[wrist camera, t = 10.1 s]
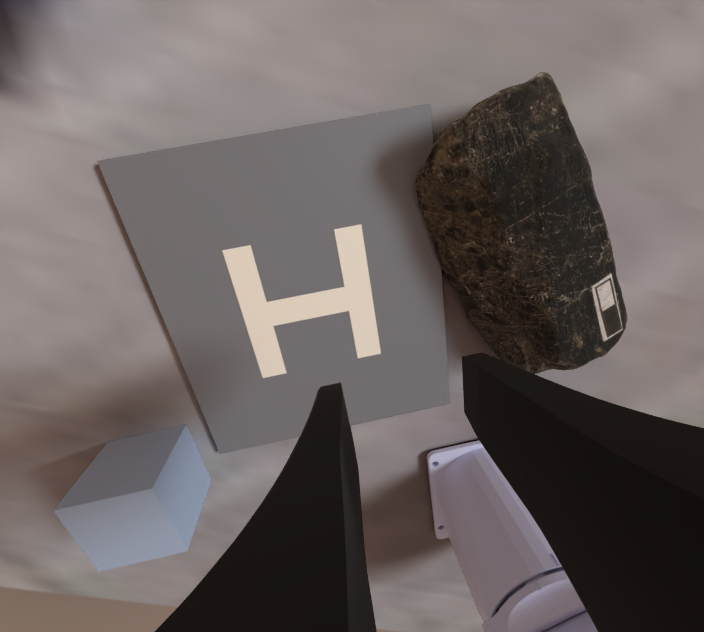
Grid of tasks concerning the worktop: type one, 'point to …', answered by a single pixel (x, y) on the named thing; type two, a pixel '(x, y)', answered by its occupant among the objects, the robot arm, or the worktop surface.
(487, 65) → the worktop surface
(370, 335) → the letter board
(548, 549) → the robot arm
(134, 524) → the gray cube
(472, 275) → the rock
